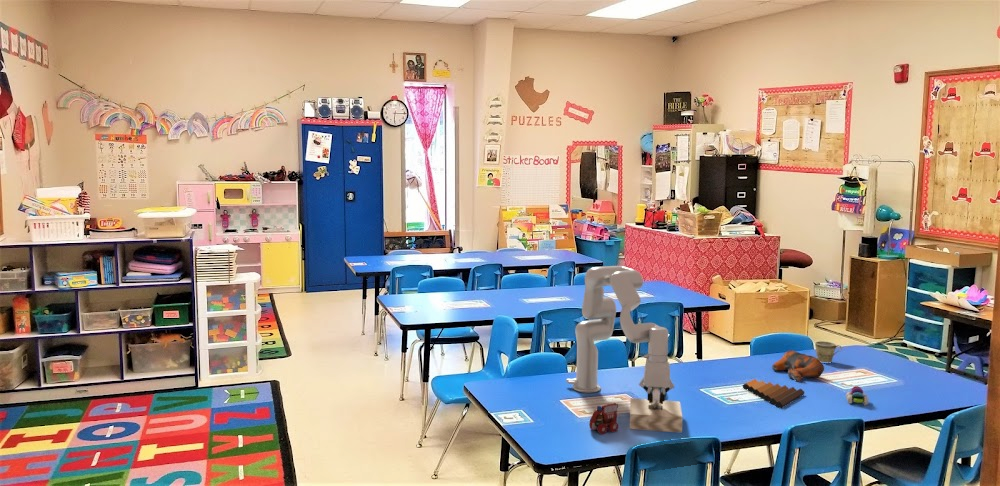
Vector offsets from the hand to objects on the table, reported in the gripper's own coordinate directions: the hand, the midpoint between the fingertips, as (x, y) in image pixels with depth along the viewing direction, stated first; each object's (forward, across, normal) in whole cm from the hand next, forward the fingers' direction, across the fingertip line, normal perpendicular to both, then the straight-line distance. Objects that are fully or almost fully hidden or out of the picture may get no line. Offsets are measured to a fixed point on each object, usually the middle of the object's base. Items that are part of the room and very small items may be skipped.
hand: (655, 402), depth 308 cm
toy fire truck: (+8, -20, -14) cm, 26 cm away
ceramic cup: (+8, +91, +113) cm, 145 cm away
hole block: (+8, 0, 0) cm, 8 cm away
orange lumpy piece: (+9, +69, +86) cm, 111 cm away
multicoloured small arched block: (+9, +88, +45) cm, 99 cm away
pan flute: (+9, +50, +47) cm, 69 cm away
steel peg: (+3, 0, 0) cm, 3 cm away
